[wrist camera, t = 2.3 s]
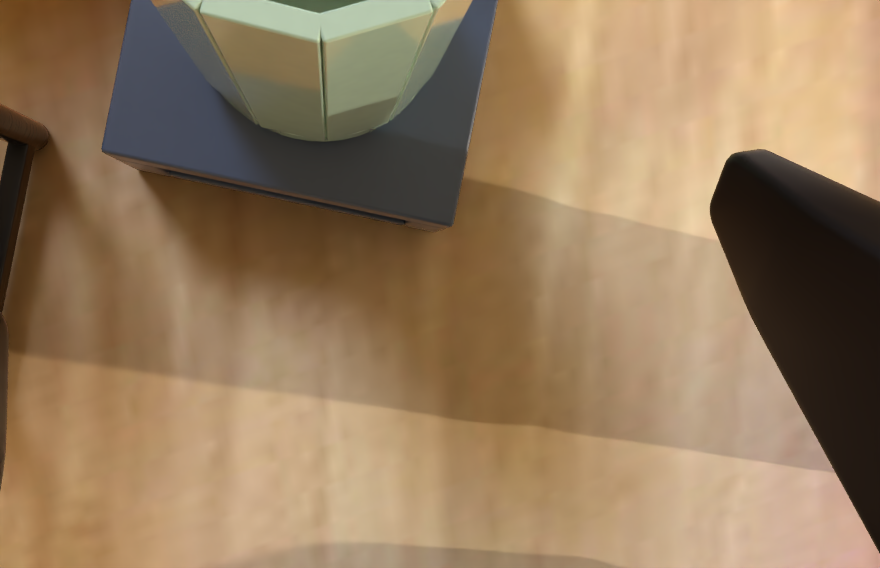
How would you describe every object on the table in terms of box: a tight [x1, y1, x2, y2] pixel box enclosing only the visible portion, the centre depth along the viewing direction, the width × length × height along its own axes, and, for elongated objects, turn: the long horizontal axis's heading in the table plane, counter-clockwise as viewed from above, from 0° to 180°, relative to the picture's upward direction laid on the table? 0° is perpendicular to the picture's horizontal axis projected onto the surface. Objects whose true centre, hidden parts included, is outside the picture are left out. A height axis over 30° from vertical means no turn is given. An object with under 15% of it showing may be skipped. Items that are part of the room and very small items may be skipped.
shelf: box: [101, 0, 498, 232], centre depth 17 cm, size 9×9×5 cm
